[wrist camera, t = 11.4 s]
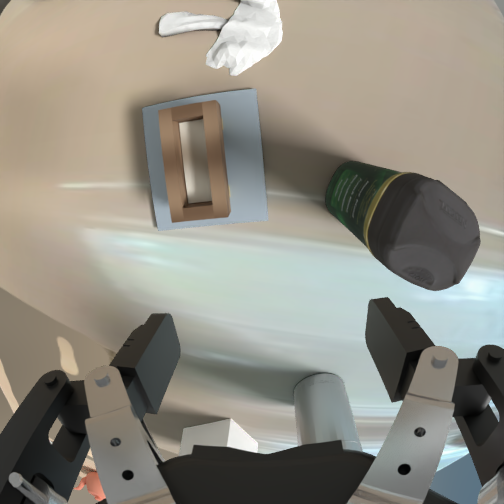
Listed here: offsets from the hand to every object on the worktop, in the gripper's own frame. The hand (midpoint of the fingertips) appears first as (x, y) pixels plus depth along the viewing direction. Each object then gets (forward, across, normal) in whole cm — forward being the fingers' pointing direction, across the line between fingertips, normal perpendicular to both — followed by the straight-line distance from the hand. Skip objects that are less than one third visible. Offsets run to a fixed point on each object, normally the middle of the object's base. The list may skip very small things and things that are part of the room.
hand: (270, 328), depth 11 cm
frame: (+21, +7, -7) cm, 23 cm away
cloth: (+25, +4, -29) cm, 38 cm away
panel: (+24, +7, -7) cm, 26 cm away
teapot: (+27, +72, +96) cm, 123 cm away
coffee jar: (+25, -12, -1) cm, 28 cm away
